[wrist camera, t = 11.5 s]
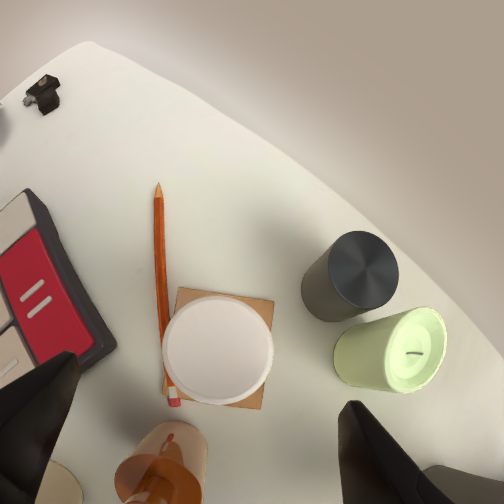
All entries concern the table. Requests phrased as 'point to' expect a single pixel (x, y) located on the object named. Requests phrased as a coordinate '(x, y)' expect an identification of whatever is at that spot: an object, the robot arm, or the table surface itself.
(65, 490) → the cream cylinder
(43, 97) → the lighter
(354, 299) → the grey tin
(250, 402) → the cork pad
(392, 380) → the candle
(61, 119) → the table surface
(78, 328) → the calculator
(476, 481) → the bottle
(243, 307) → the supplement bottle
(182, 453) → the amber bottle
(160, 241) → the pencil
